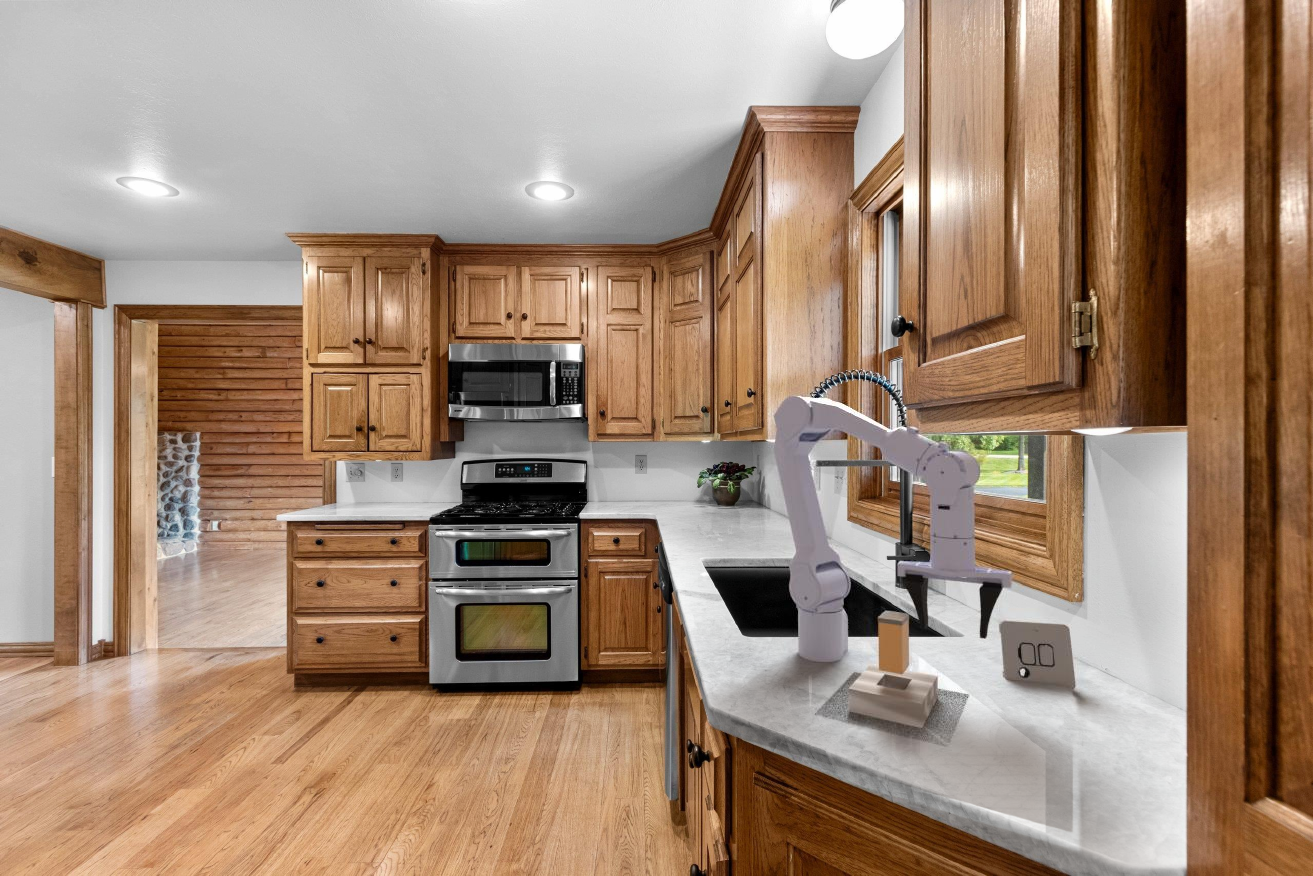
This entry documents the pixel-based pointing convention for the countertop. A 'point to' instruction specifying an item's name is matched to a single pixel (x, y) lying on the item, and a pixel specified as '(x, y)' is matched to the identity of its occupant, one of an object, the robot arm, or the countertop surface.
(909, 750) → the countertop surface
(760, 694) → the countertop surface
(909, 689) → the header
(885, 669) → the plug
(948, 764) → the countertop surface
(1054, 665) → the electrical switch
